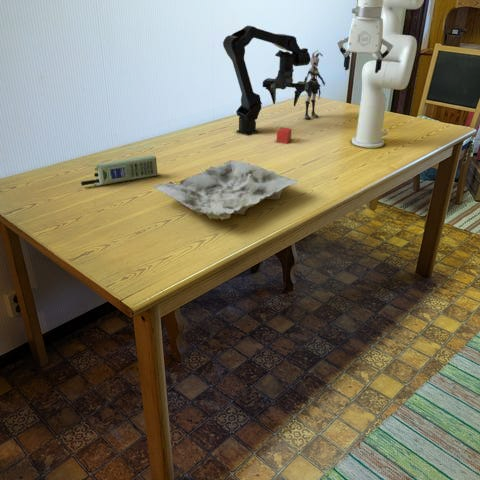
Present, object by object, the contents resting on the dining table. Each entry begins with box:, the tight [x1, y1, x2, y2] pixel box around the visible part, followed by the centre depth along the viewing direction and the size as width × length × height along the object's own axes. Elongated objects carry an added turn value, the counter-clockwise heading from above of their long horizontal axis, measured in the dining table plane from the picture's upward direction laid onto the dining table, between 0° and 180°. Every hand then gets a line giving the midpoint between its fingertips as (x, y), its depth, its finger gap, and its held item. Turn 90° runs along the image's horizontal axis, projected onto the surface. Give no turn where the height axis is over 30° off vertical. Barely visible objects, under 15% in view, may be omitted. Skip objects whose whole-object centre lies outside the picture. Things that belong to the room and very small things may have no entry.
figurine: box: [303, 49, 326, 120], centre depth 227 cm, size 15×6×30 cm, turn 132°
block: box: [276, 127, 292, 144], centre depth 203 cm, size 5×4×5 cm
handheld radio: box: [80, 155, 159, 187], centre depth 164 cm, size 7×3×25 cm
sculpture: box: [153, 160, 300, 221], centre depth 153 cm, size 38×6×30 cm
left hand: (284, 105), depth 218 cm, fingers open, 9 cm apart
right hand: (361, 71), depth 164 cm, fingers open, 9 cm apart
